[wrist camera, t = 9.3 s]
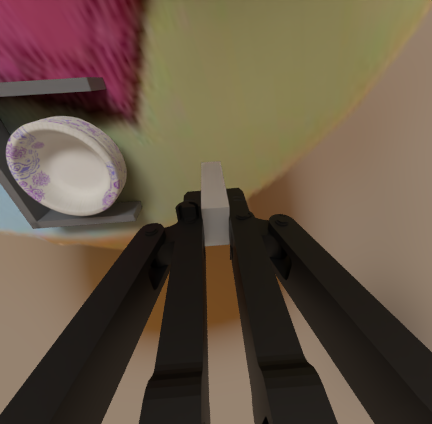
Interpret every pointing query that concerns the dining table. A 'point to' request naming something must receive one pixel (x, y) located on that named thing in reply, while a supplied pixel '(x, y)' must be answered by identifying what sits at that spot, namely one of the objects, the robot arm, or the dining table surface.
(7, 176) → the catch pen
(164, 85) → the dining table surface
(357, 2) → the dining table surface
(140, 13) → the dining table surface
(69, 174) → the paper bowls
